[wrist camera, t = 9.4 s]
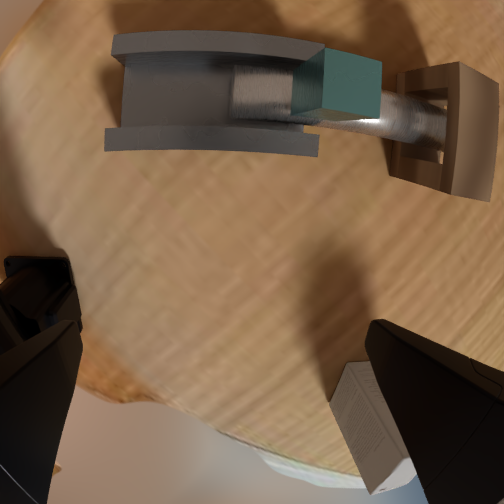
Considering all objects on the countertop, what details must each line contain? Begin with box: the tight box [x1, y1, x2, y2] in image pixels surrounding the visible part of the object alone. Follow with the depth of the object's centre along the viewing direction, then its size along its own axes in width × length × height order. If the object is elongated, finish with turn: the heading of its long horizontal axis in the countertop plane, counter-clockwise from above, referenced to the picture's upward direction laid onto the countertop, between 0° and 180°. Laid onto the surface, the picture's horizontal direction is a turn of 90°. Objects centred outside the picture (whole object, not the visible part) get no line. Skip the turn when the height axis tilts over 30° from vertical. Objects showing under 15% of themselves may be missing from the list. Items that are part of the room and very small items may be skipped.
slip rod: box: [230, 48, 447, 152], centre depth 14 cm, size 15×3×8 cm, turn 86°
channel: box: [104, 30, 325, 157], centre depth 16 cm, size 11×6×4 cm, turn 86°
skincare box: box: [329, 361, 417, 495], centre depth 23 cm, size 6×4×12 cm
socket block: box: [389, 61, 499, 202], centre depth 17 cm, size 4×8×7 cm, turn 176°
